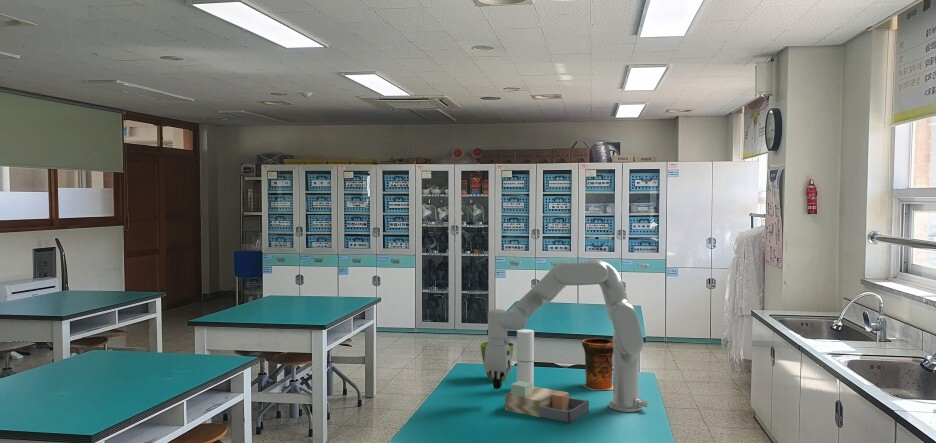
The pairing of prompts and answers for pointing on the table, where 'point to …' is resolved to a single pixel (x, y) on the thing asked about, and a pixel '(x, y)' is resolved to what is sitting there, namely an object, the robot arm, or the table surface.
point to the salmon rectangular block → (560, 400)
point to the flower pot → (483, 348)
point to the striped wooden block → (530, 401)
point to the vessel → (598, 363)
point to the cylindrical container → (525, 355)
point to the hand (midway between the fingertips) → (497, 388)
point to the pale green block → (521, 388)
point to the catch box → (566, 411)
